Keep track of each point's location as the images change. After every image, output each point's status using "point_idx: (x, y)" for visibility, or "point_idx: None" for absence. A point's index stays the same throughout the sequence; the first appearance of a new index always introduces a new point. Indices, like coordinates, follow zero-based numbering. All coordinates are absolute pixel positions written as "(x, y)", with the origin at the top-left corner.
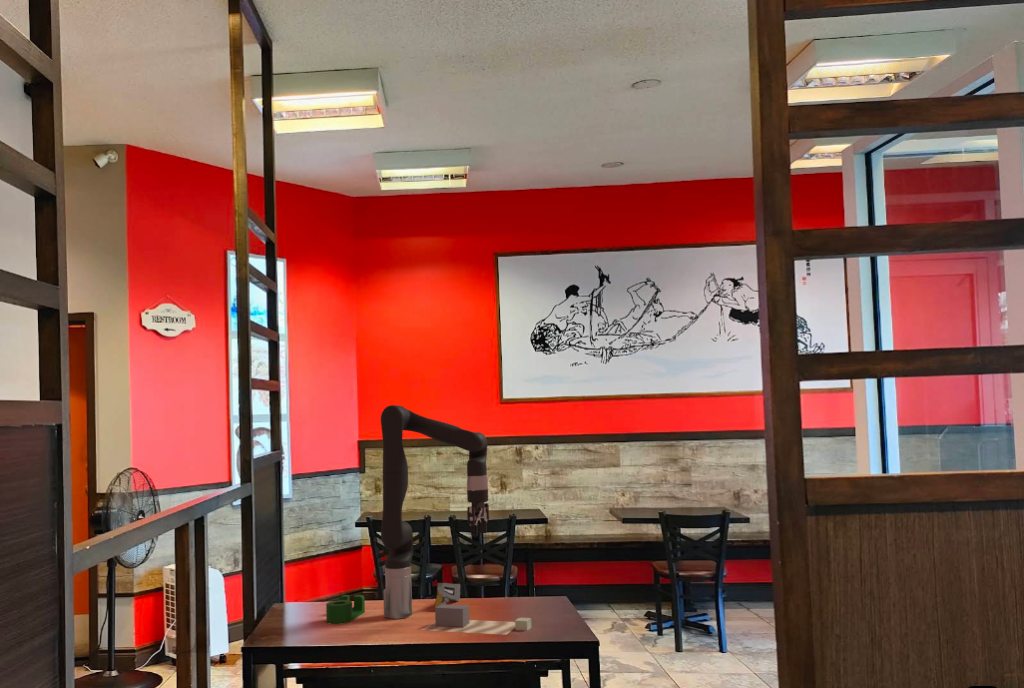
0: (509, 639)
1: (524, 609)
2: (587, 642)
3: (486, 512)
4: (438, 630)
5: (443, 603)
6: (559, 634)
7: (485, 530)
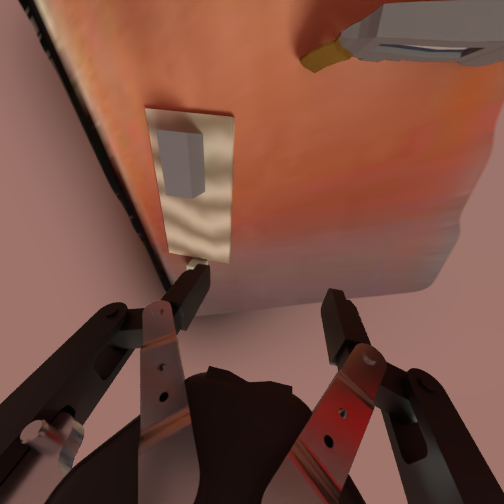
0: (167, 254)
1: (331, 250)
2: None
3: (408, 476)
4: (155, 149)
5: (364, 58)
6: None
7: (322, 318)
